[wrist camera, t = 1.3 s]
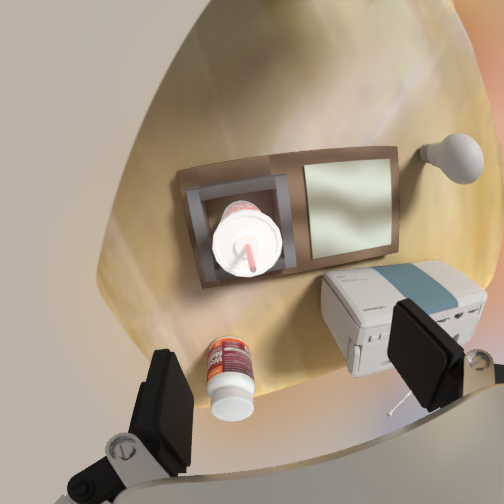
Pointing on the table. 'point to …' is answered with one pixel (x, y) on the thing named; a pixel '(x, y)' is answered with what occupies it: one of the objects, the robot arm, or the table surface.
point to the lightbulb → (456, 157)
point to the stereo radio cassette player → (383, 301)
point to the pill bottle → (230, 379)
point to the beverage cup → (246, 240)
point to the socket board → (303, 206)
